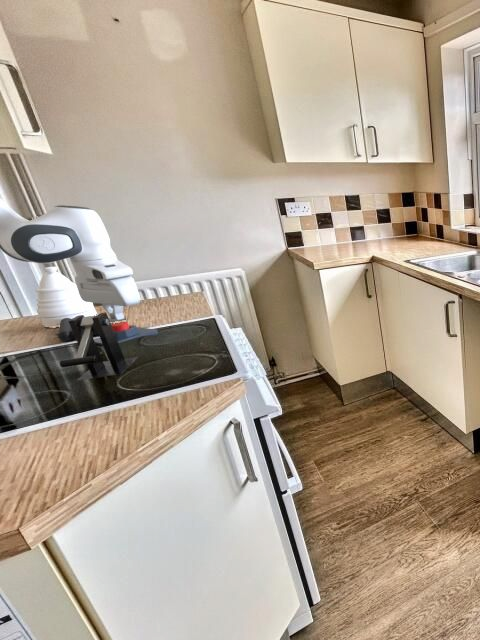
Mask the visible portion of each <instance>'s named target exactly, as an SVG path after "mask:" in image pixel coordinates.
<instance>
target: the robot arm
mask: <svg viewBox="0 0 480 640" xmlns="http://www.w3.org/2000/svg"><path fill="white" fill-rule="evenodd" d="M0 250H1V251H2V252H3V253H4V254H5V255H7V256H8V257H10V258H12V259H14V260H17V261H20V262H25V263H35V264H52V263H56V262H58V261H62V260H65V259H69V260H70V263H71V265H72V267H73V270H74V272H75V274H76V276H74V281H75V282H74V283H76V286H77V289H78V292H79V295H80V297H81V299H82V300H83V301H84V302H92V303H93V304H100V305H101V306H102V308H103V309H104V310H105V312H106V313H107V315H108V317H109V318H111V319H116V320H120V319H124V316H125V315H124V307H125V308H126V307H132V306H136V305H139V304H140V303H141V296H140V293H139V289H138V286H137V284H136V281H135V279H134V278H133V275H134V270H133V268H131V266H129V265H127V264H125V263H123V262H122V261H121V260H118V256H117V255H116V252H114V249H112V246H111V238H110V235H109V232H108V231H107V228H106V226H105V224H104V222H103V220H102V218H101V216H100V215H99V213H98V212H96V211H95V210H93V209H91V208H89V207H87V206H86V207H85V206H75V205H63V204H60V205H55V206H53V207H52V208H51V209H50V210H48V211H46V213H44V214H42V215H40V216H37V217H35V218H33V219H30V220H29V219H27V218H25V217H23V216H21V215H20V214H18V212H16V211H15V210H14V209H13V208H12V207H11V206H10V205H8V204H7V203H6V202H5V201H4V200H3V199H2V198H0Z"/></svg>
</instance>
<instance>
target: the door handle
mask: <svg viewBox="0 0 480 640" xmlns="http://www.w3.org/2000/svg"><path fill="white" fill-rule="evenodd" d="M108 318H109V321H110V322H115V321H122V320H127V317H126V315H124V319H120V320H116V319H111V318H110V317H108ZM69 320H71V318H64V319H62V320H61V322H60V327H59V328H58V332H57V333H56V334H54V336H57V340H59V341H61V342H70V341H71V340H76V338H75V335H74V333H73V331H72V328H71V326H70V324H69ZM127 321H128V320H127ZM57 325H58V324H57ZM94 335H98V336H99V334H98V332H93V334H92V336H93V337H95V336H94ZM53 339H55V337H54V338H53Z"/></svg>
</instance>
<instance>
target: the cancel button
mask: <svg viewBox="0 0 480 640" xmlns="http://www.w3.org/2000/svg"><path fill="white" fill-rule="evenodd" d="M129 325H130V324H129V322H128V321H127V322H120V323H115V324H111V326H112V328H113V331H114V332H117V331H123V330H127V329H130V327H129Z"/></svg>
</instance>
